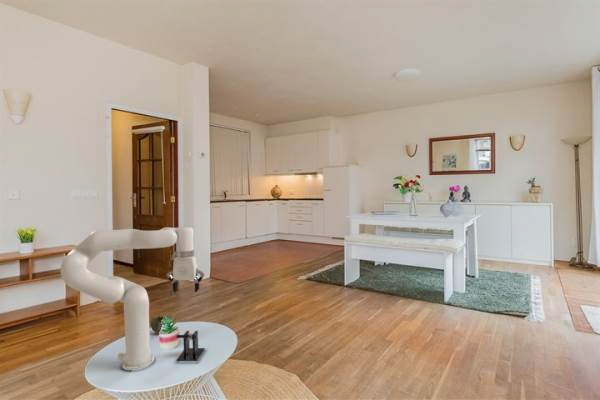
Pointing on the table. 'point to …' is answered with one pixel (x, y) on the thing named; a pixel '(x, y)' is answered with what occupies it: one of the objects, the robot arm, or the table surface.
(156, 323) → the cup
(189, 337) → the lever
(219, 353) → the table surface
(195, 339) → the bracket
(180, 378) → the table surface
